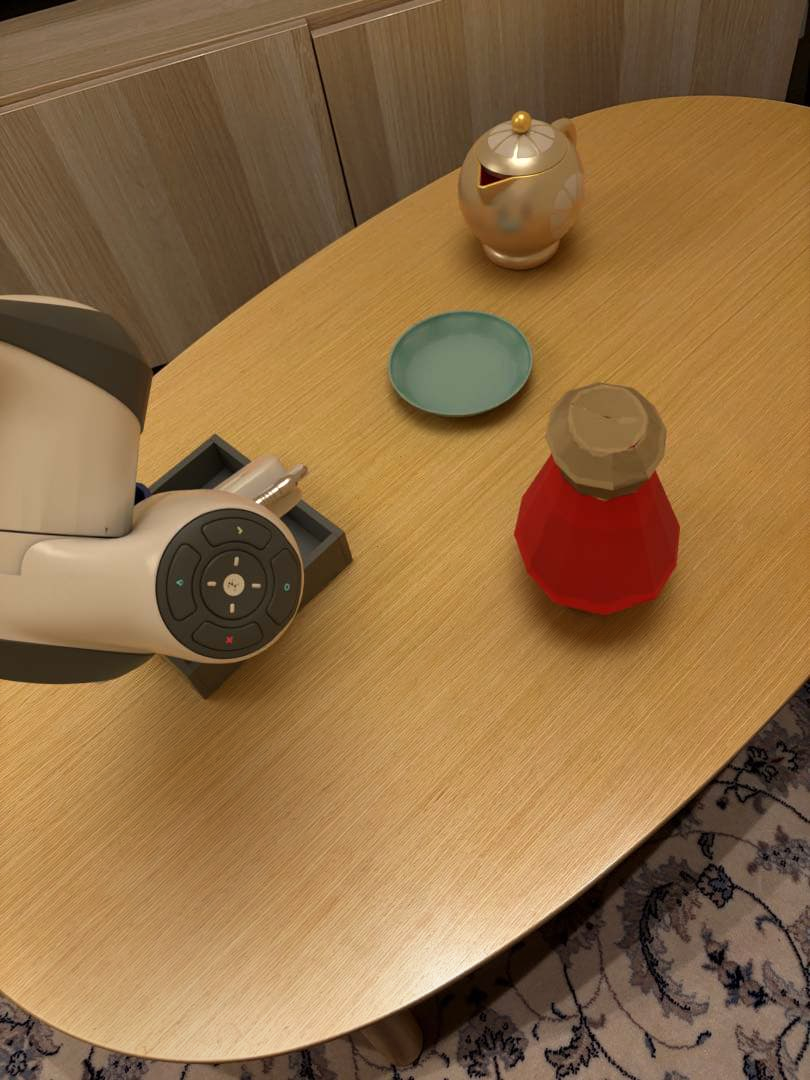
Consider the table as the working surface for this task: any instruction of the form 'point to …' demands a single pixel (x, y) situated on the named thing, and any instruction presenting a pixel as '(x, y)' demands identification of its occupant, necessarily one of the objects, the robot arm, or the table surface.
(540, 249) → the teapot
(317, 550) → the tray
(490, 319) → the saucer
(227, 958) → the table surface
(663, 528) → the bottle
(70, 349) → the robot arm
